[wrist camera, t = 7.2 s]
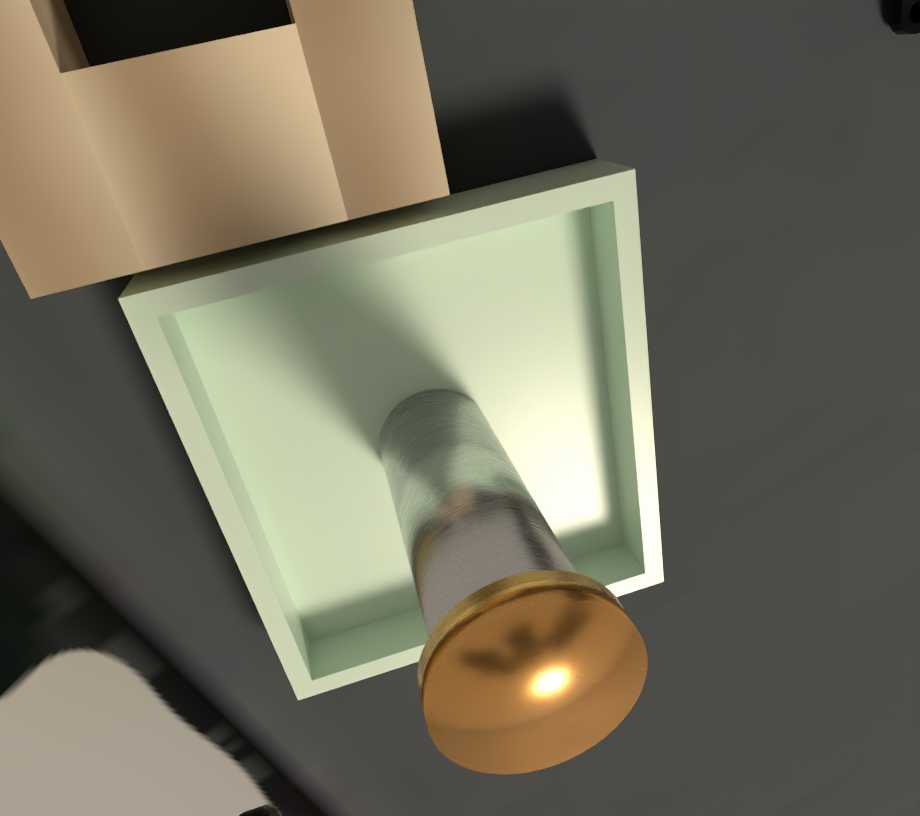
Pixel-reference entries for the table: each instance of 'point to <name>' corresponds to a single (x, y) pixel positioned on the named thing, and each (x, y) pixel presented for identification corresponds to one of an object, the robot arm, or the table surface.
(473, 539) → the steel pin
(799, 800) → the table surface
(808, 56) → the table surface
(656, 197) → the table surface
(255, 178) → the block
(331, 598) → the tray
